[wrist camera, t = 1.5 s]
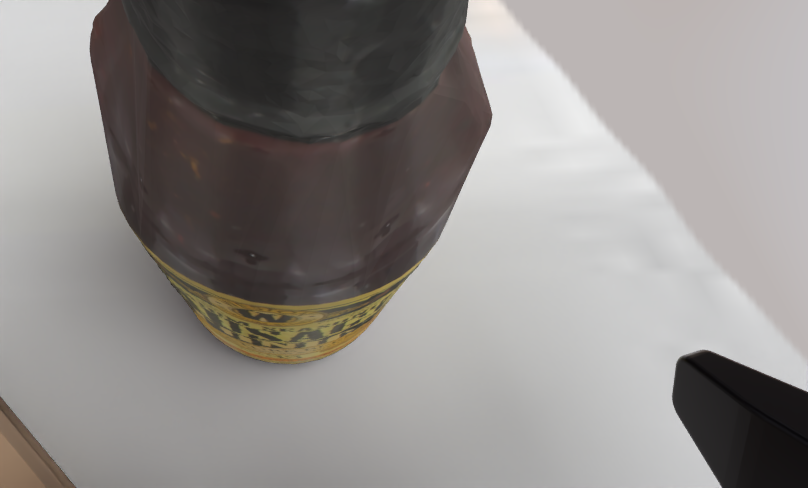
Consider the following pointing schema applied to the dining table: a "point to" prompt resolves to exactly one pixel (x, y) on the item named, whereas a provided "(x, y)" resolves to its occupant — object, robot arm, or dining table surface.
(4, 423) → the walnut tray
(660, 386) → the dining table surface
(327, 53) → the sauce bottle
